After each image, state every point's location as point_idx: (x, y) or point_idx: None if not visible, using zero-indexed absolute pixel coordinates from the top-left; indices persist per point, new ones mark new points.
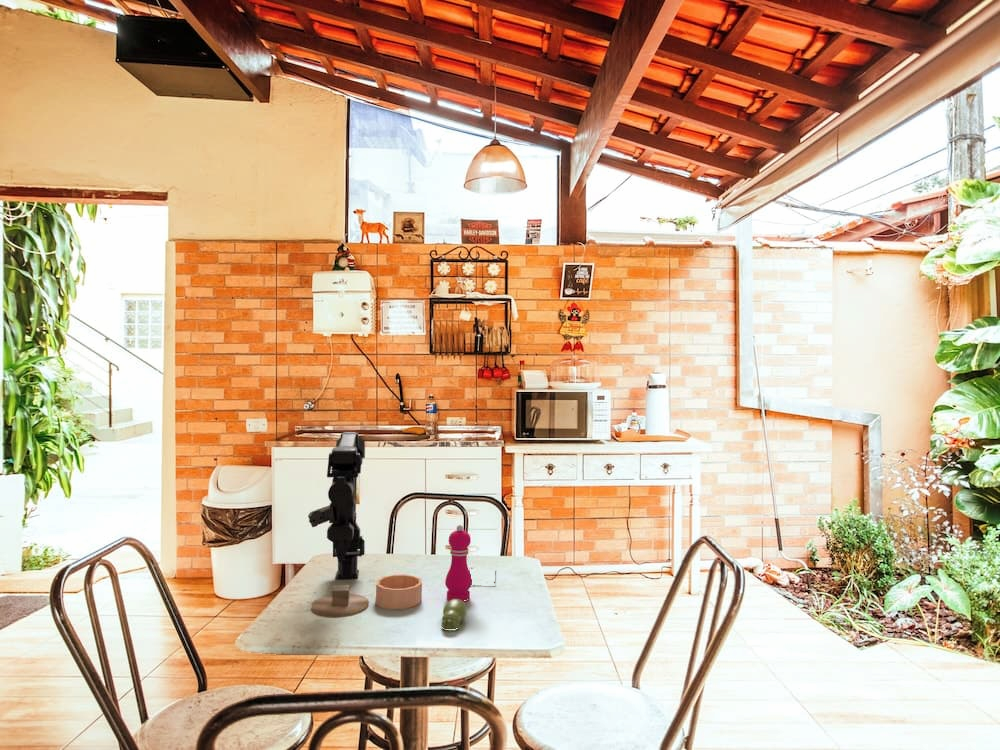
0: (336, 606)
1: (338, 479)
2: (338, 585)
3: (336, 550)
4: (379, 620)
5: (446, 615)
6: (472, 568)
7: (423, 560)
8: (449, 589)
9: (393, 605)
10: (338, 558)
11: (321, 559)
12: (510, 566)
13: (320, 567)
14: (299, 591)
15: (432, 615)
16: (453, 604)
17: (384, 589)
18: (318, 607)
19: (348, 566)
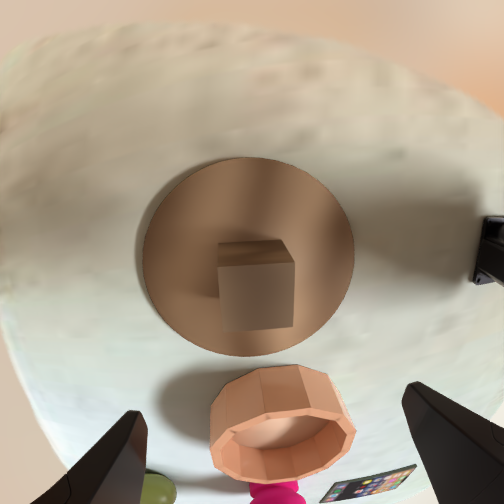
0: (214, 260)
1: None
2: (290, 283)
3: (66, 478)
4: (131, 380)
5: None
6: (410, 470)
7: (496, 389)
8: (262, 495)
9: (210, 414)
10: (113, 433)
11: None
12: (400, 492)
13: None
14: (410, 98)
15: (177, 458)
16: None
17: (223, 430)
18: (206, 191)
19: (500, 271)
